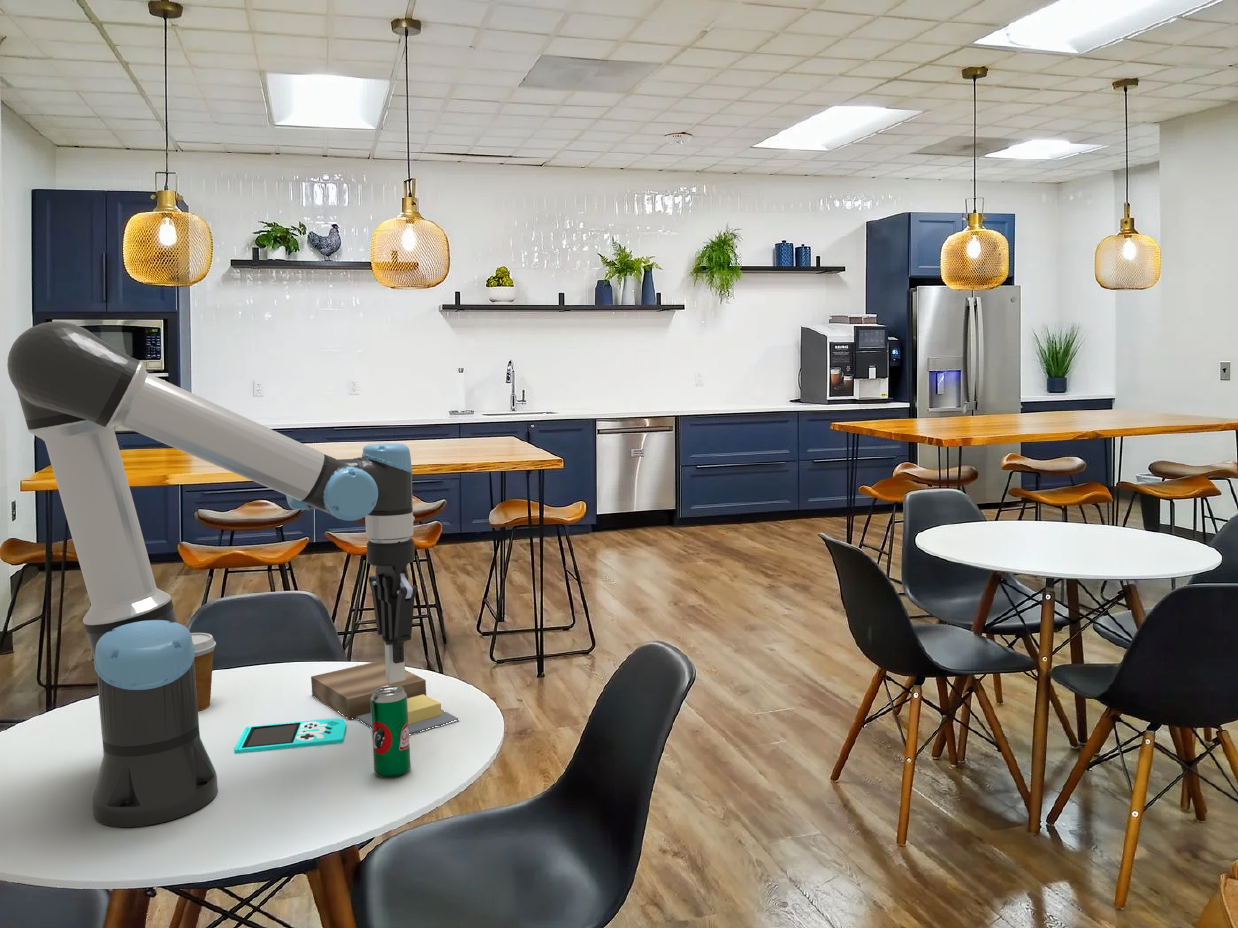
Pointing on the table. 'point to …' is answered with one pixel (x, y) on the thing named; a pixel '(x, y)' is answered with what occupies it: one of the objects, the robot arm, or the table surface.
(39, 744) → the table surface
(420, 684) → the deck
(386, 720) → the soda can
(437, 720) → the mat
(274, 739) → the handheld game console
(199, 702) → the disposable coffee cup
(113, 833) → the table surface
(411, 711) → the yellow rectangular block
